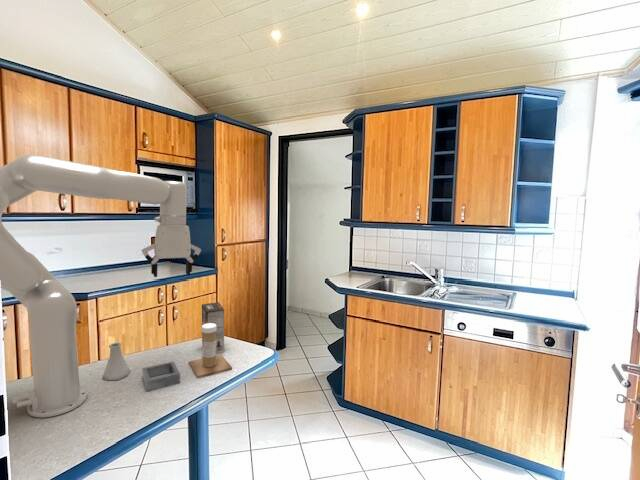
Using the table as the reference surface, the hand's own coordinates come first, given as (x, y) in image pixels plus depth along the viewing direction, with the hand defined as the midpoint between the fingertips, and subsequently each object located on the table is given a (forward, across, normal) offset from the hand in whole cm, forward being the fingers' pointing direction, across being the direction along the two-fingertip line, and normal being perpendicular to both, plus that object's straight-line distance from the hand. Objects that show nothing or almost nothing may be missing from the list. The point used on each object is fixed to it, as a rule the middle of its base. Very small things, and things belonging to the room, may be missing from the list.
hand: (172, 275), depth 111 cm
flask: (+31, -15, +3) cm, 35 cm away
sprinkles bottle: (+29, +11, -5) cm, 32 cm away
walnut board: (+30, +11, -5) cm, 33 cm away
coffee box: (+30, +16, +8) cm, 35 cm away
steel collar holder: (+31, -4, -7) cm, 32 cm away
